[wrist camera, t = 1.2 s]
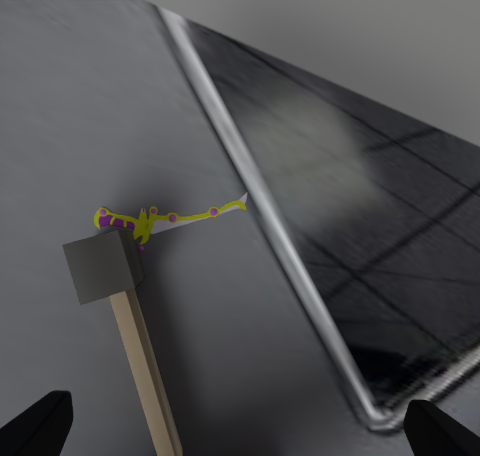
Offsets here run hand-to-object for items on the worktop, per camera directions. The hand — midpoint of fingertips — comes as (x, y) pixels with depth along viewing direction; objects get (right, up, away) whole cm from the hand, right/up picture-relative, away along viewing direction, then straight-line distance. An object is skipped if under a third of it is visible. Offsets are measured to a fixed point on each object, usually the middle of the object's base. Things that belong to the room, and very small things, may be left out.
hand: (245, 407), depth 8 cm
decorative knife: (-5, +5, +15) cm, 17 cm away
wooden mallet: (-7, -4, +14) cm, 16 cm away
